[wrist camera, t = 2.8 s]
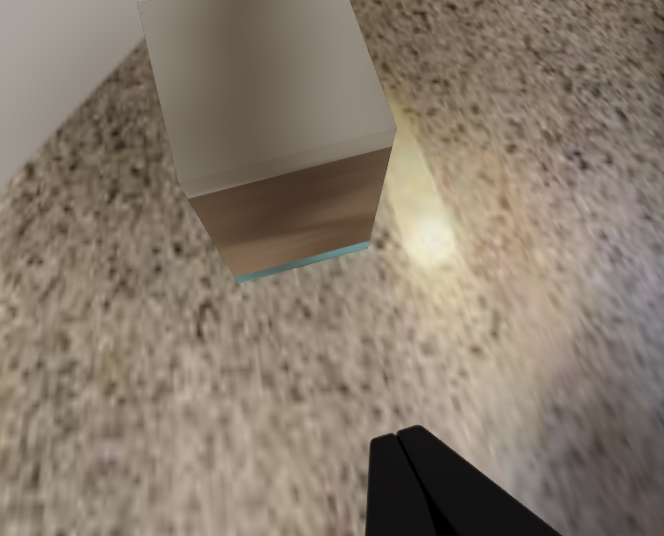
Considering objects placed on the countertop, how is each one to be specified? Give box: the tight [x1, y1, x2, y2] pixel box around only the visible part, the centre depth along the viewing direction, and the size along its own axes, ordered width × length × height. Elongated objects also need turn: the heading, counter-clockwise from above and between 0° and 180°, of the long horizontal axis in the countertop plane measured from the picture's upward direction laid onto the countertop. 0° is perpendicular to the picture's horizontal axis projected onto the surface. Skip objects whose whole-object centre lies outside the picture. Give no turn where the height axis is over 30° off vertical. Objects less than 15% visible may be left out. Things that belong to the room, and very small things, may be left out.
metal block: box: [137, 0, 397, 284], centre depth 20 cm, size 6×6×10 cm
